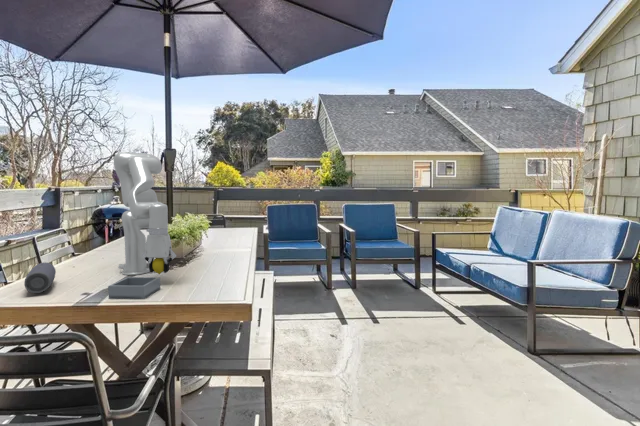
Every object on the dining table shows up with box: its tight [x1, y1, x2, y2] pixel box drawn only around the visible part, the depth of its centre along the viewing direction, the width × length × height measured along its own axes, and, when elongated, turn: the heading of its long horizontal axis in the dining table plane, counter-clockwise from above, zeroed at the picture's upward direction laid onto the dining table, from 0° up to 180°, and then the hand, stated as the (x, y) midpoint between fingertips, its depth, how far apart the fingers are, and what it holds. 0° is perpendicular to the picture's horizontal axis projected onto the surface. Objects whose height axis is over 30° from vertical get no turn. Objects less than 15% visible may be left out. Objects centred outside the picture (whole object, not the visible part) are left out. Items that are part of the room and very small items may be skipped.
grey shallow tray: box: [107, 276, 161, 300], centre depth 153 cm, size 14×14×5 cm
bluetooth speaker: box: [23, 262, 57, 294], centre depth 159 cm, size 23×9×10 cm, turn 31°
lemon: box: [152, 258, 165, 275], centre depth 167 cm, size 6×6×8 cm
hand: (159, 271), depth 167 cm, fingers closed on lemon, 5 cm apart
